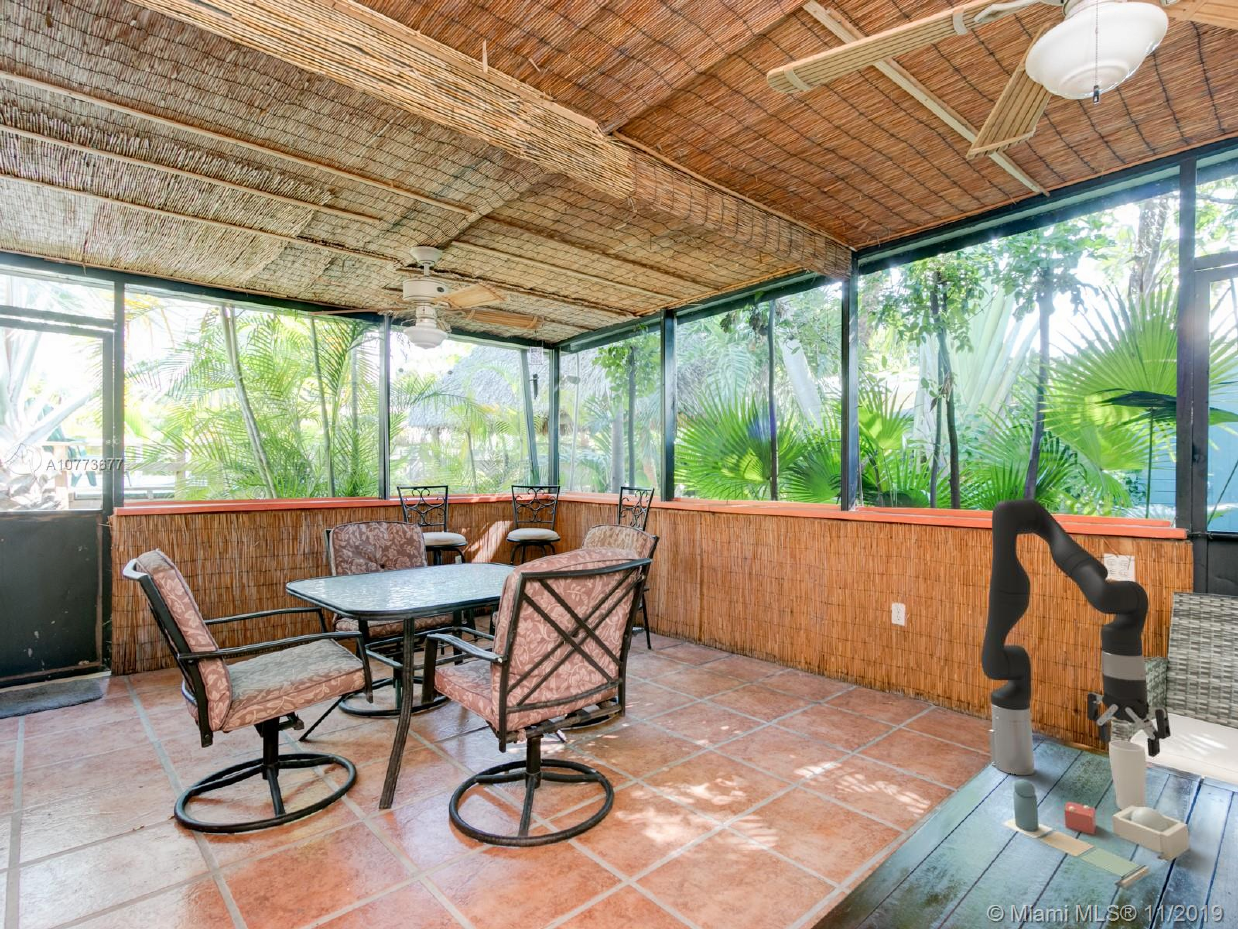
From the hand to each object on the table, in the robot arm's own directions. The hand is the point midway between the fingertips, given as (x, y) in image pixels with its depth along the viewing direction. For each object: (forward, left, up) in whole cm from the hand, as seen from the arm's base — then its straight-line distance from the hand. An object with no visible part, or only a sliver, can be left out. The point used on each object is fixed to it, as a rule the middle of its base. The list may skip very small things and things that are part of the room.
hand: (1128, 749), depth 137 cm
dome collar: (+2, +2, -20) cm, 20 cm away
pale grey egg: (+2, +2, -19) cm, 19 cm away
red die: (-8, -5, -20) cm, 22 cm away
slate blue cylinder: (-14, -15, -18) cm, 28 cm away
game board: (-6, -15, -20) cm, 26 cm away
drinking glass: (-7, +15, -20) cm, 26 cm away
